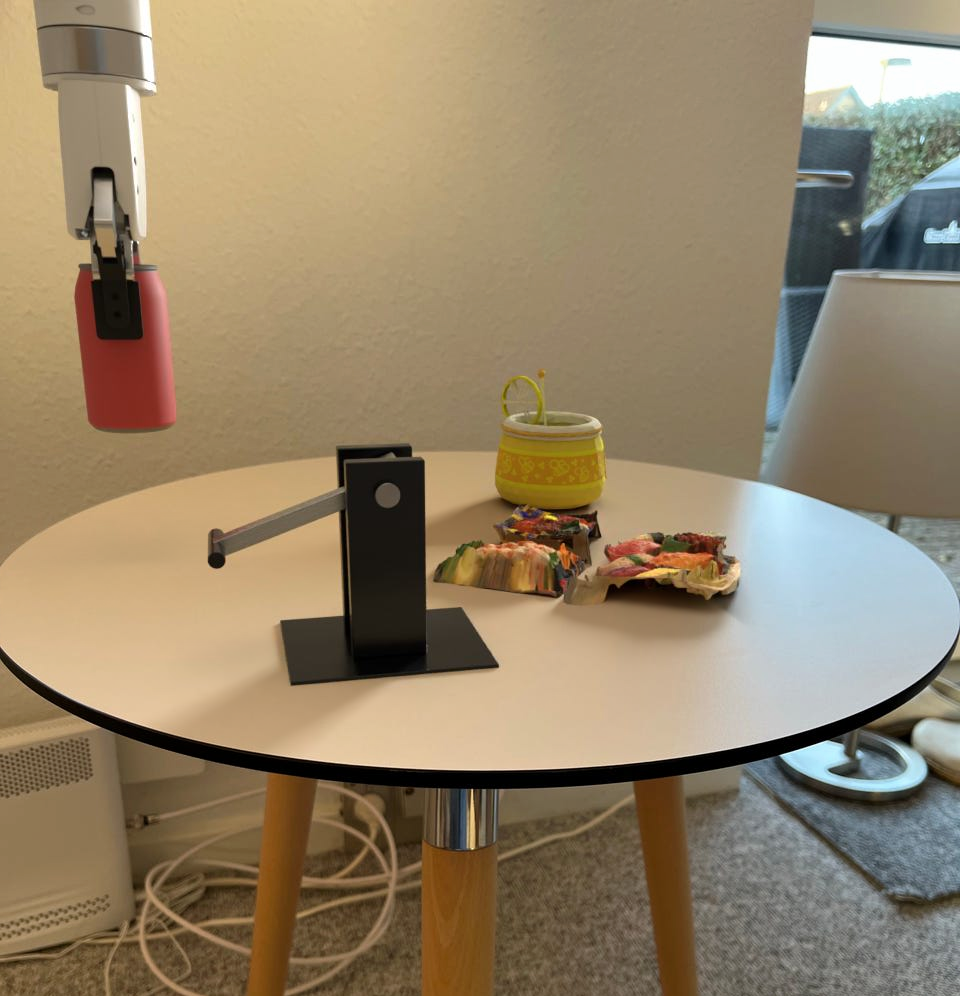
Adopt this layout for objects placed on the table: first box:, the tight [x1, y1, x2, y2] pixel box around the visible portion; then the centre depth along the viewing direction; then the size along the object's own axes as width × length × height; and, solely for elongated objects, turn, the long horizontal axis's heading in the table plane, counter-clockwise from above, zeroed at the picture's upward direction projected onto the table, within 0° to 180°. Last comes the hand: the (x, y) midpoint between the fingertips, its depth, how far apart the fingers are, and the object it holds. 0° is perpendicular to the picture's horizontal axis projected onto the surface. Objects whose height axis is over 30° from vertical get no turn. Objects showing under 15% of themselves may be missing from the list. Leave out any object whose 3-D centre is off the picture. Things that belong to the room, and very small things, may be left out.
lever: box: [207, 452, 396, 570], centre depth 58 cm, size 12×5×2 cm, turn 104°
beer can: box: [73, 263, 178, 434], centre depth 77 cm, size 7×7×12 cm
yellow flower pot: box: [494, 368, 608, 511], centre depth 99 cm, size 13×11×12 cm
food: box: [432, 504, 742, 606], centre depth 77 cm, size 22×19×4 cm
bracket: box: [279, 442, 500, 687], centre depth 60 cm, size 12×10×13 cm
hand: (124, 333), depth 77 cm, fingers closed on beer can, 6 cm apart
